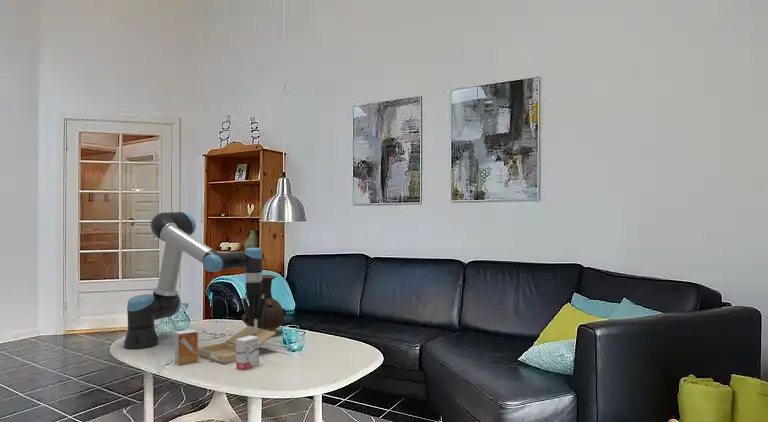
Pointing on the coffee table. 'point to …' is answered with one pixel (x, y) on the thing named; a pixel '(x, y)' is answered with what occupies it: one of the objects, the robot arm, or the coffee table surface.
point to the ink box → (247, 352)
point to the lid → (261, 333)
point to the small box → (186, 346)
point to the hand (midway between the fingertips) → (254, 333)
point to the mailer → (219, 353)
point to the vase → (269, 308)
